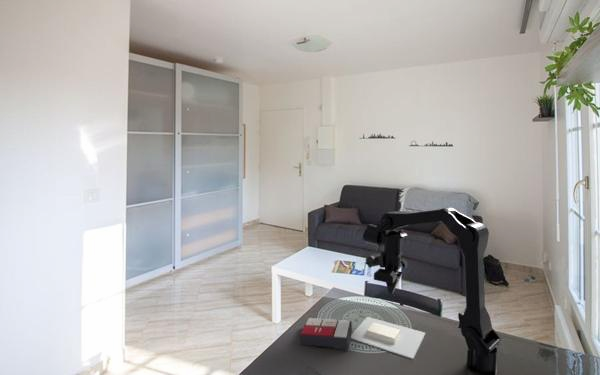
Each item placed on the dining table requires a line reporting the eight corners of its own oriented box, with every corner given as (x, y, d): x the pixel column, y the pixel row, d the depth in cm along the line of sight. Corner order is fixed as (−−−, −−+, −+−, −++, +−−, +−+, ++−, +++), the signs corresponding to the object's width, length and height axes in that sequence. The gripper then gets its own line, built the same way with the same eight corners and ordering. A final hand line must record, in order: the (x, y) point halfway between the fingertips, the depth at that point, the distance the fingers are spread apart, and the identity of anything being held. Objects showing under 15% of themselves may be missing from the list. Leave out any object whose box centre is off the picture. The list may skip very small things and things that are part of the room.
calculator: (307, 316, 110) (351, 318, 106) (308, 328, 110) (352, 331, 106) (298, 333, 99) (347, 336, 95) (300, 346, 99) (348, 350, 95)
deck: (400, 329, 104) (394, 338, 99) (400, 335, 104) (394, 344, 99) (373, 322, 108) (367, 330, 103) (373, 327, 109) (366, 335, 104)
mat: (425, 333, 105) (425, 332, 105) (413, 359, 92) (413, 358, 92) (367, 317, 116) (367, 316, 116) (349, 338, 103) (349, 337, 103)
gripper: (378, 239, 120) (376, 279, 121) (358, 251, 104) (357, 298, 105) (408, 243, 114) (407, 286, 115) (393, 257, 98) (391, 306, 100)
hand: (390, 293), depth 109 cm, fingers closed
